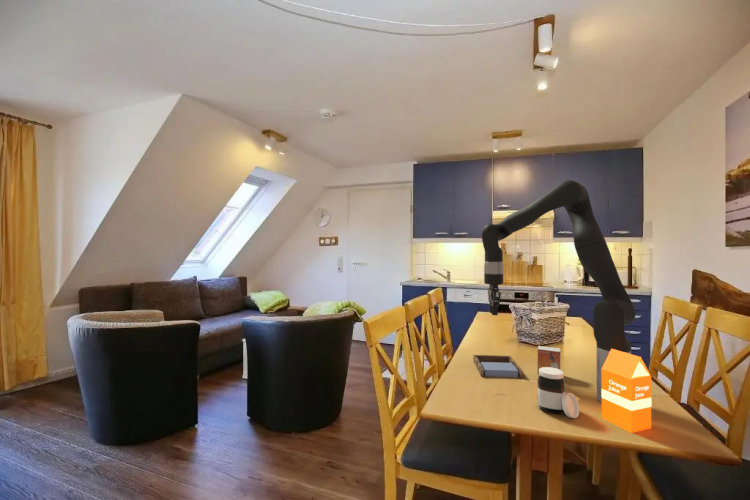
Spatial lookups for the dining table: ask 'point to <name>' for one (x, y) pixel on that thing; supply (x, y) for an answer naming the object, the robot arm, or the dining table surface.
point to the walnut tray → (494, 358)
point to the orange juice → (626, 391)
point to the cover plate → (499, 369)
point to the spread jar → (555, 393)
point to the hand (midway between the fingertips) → (493, 314)
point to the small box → (548, 357)
